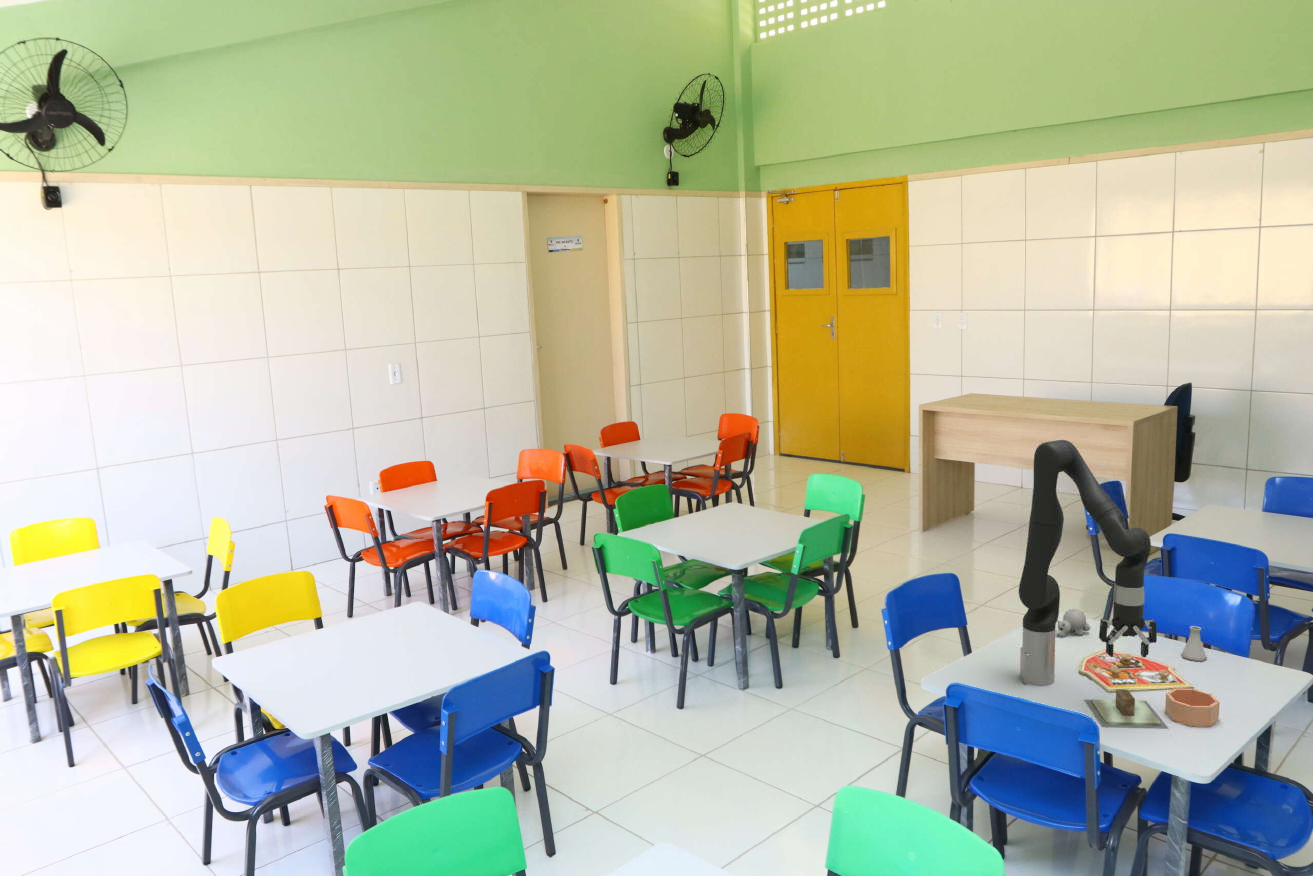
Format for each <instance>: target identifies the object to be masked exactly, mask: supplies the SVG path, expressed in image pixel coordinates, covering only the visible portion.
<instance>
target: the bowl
mask: <svg viewBox="0 0 1313 876" xmlns="http://www.w3.org/2000/svg"><path fill="white" fill-rule="evenodd" d="M1164 712H1165V713H1166V714H1167V716H1168V718H1169V719H1171V720H1172V721H1173V722H1176V723H1179V724H1182V725H1185V726H1190V727H1197V728H1206V727H1207V728H1208V727H1212V726H1214V725H1215V724H1216V723H1218V722H1219V717H1220V701H1219V700H1218V699H1217V697H1216V696H1214V695H1213V694H1211V693H1209V692H1205V691H1201V690H1199V689H1195V688H1194V689H1183V688H1174V689H1173V690H1168V692H1166V693H1165V708H1164Z"/></svg>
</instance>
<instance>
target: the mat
mask: <svg viewBox="0 0 1313 876" xmlns="http://www.w3.org/2000/svg"><path fill="white" fill-rule="evenodd" d="M1083 701H1084V702H1085V704H1086V705H1087V707H1088V708H1089V710H1090V712H1091V713H1092V714H1093V716H1094V717H1095V719H1096V720H1097V722H1098V723H1099V725H1100V726H1101V728H1117V729H1119V728H1121V729H1122V728H1123V729H1124V728H1125V729H1126V728H1127V729H1159V730H1160V729H1162V730H1163V729H1164V730H1169V727H1168V726H1167V724H1166V723H1165V722H1164V721H1163V720H1162V718H1161V717H1160V716H1159V715H1158V713H1157V712H1156V710H1154V708H1153V707H1152V706H1151V705H1150V703H1148V701H1147V700H1143V701H1144V703H1145V704H1146V705H1147V706H1148V708H1149V709H1150V710H1151V711H1152V713H1153V714H1154V715H1155V716H1156V718H1157V719H1158V720H1159V721H1160V723H1161V726H1143V725H1106V724H1105V722H1104V721H1103V719H1102V718H1101V716H1100V715H1099V713H1098V712H1097V710H1096V709H1095V707H1094V706H1093V704H1092V703H1091V699H1083Z"/></svg>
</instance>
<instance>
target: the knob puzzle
mask: <svg viewBox="0 0 1313 876" xmlns="http://www.w3.org/2000/svg"><path fill="white" fill-rule="evenodd" d="M1174 670H1176V668H1175V666H1173V665H1170V664H1168V663H1166V662H1165V663H1164V662H1161V661H1158V660H1156V659H1152V658H1149V657H1148V656H1146V657H1142V656H1141V655H1138V654H1132V653H1128V652H1121V651H1114V650H1113V657H1110V656H1109V655H1108V654H1107V652H1106V649H1101V650H1098V651H1096V652H1094V653H1091V654H1089V655H1086V656H1085V657H1084V658H1082V659H1081V661H1080V665H1079V669H1078V675H1080V676H1082V677H1086V678H1088V679H1089V680H1090V681H1092V682H1094V683H1095V684H1096V685H1097V686H1099V687H1100V688H1101V689H1103V691H1105V692H1106V693H1108V694H1116V689H1120V690H1128V691H1129V692H1130V693H1137V692H1138V693H1139V692H1154V691H1155V692H1158V691H1171V690H1173V689H1174V688H1183V689H1195V686H1194V685H1193V684H1191V682H1190V681H1188V680H1187V679H1185V678H1184V677H1183V676H1181V674H1179V672H1177V671H1174Z"/></svg>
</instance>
